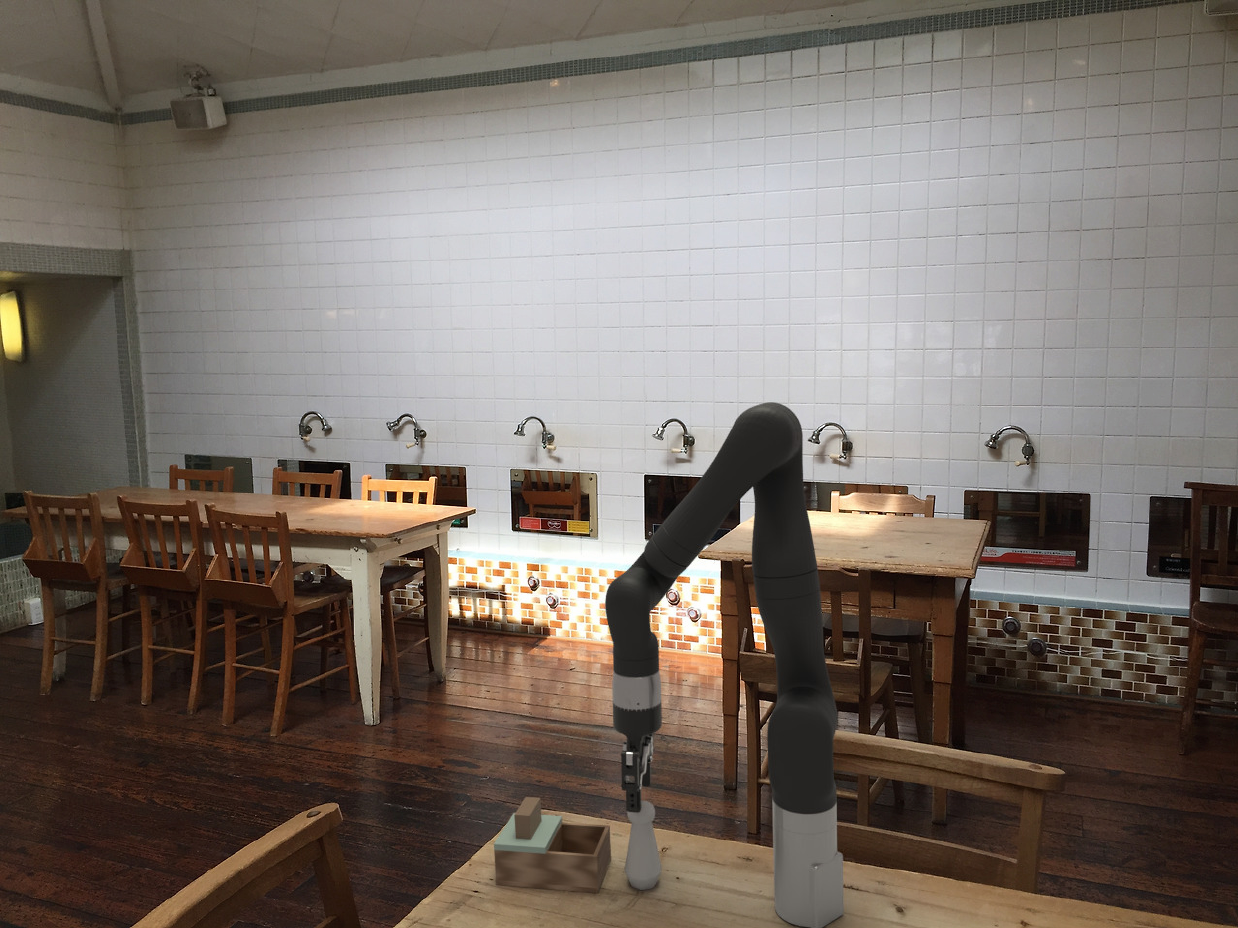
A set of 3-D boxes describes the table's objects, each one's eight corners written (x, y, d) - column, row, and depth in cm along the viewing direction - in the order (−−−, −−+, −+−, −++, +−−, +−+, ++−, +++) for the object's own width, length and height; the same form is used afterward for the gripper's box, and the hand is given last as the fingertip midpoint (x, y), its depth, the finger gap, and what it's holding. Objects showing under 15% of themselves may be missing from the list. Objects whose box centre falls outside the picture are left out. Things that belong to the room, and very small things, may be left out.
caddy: (611, 859, 155) (609, 825, 154) (598, 892, 145) (596, 856, 145) (515, 852, 158) (513, 818, 157) (496, 884, 149) (494, 848, 148)
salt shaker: (647, 897, 144) (644, 817, 142) (617, 885, 147) (614, 807, 145) (669, 879, 148) (666, 801, 147) (639, 868, 152) (636, 792, 150)
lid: (562, 821, 156) (560, 793, 155) (545, 853, 146) (543, 823, 145) (514, 818, 157) (512, 790, 157) (494, 849, 148) (492, 819, 147)
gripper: (653, 717, 136) (655, 822, 138) (668, 682, 150) (670, 778, 152) (602, 714, 138) (605, 818, 140) (622, 680, 152) (624, 775, 154)
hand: (639, 797), depth 146 cm, fingers open, 8 cm apart
